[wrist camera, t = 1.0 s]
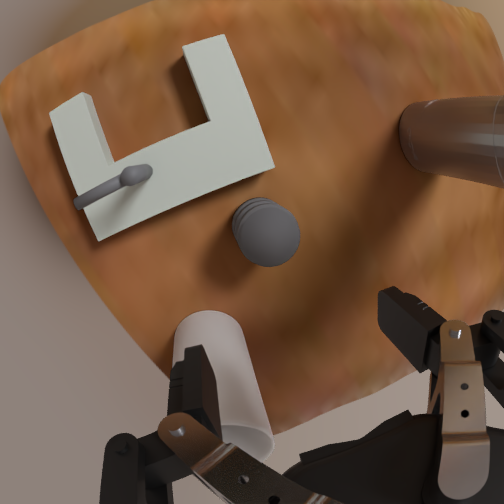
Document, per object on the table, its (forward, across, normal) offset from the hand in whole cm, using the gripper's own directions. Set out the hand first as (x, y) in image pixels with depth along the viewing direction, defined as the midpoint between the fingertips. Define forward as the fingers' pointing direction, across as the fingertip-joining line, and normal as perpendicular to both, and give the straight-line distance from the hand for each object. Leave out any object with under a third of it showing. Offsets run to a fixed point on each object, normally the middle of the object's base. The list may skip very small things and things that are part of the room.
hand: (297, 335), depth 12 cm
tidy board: (+19, +6, -11) cm, 23 cm away
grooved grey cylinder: (+19, -2, 0) cm, 19 cm away
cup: (+19, +7, +12) cm, 23 cm away
